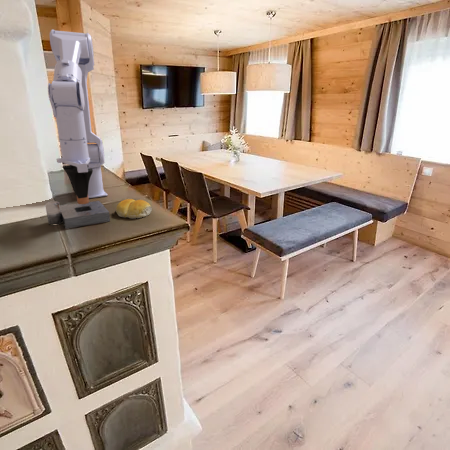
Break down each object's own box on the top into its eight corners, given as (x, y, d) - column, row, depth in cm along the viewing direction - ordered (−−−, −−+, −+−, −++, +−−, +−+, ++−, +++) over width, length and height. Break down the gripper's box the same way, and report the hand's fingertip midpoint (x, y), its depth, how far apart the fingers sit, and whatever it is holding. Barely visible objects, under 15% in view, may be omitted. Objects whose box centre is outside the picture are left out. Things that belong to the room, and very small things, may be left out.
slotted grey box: (46, 217, 77) (42, 198, 75) (100, 209, 84) (98, 191, 82) (51, 231, 70) (47, 210, 68) (110, 221, 77) (108, 202, 75)
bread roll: (127, 207, 87) (126, 193, 86) (155, 211, 85) (155, 197, 84) (109, 216, 80) (107, 202, 78) (139, 221, 78) (138, 206, 76)
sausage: (76, 202, 76) (72, 178, 74) (86, 200, 78) (83, 177, 76) (79, 204, 75) (76, 180, 72) (90, 203, 76) (87, 179, 74)
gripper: (49, 135, 74) (58, 190, 79) (58, 143, 63) (68, 206, 68) (81, 135, 77) (87, 187, 83) (94, 142, 66) (101, 202, 72)
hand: (81, 195), depth 75 cm, fingers closed on sausage, 3 cm apart
